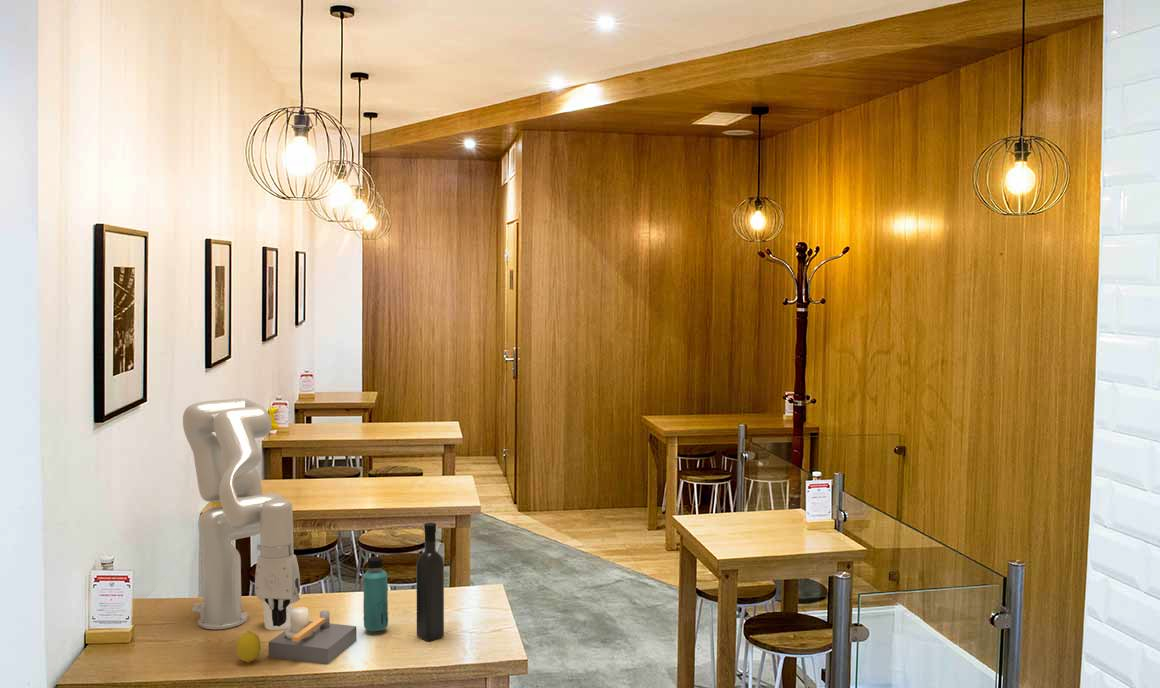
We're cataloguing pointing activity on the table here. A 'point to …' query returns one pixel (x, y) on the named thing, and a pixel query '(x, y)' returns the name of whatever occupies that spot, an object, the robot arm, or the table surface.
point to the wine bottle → (430, 589)
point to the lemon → (248, 646)
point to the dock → (315, 644)
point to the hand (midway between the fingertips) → (279, 624)
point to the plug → (298, 622)
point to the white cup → (268, 617)
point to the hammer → (314, 626)
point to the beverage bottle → (375, 596)
